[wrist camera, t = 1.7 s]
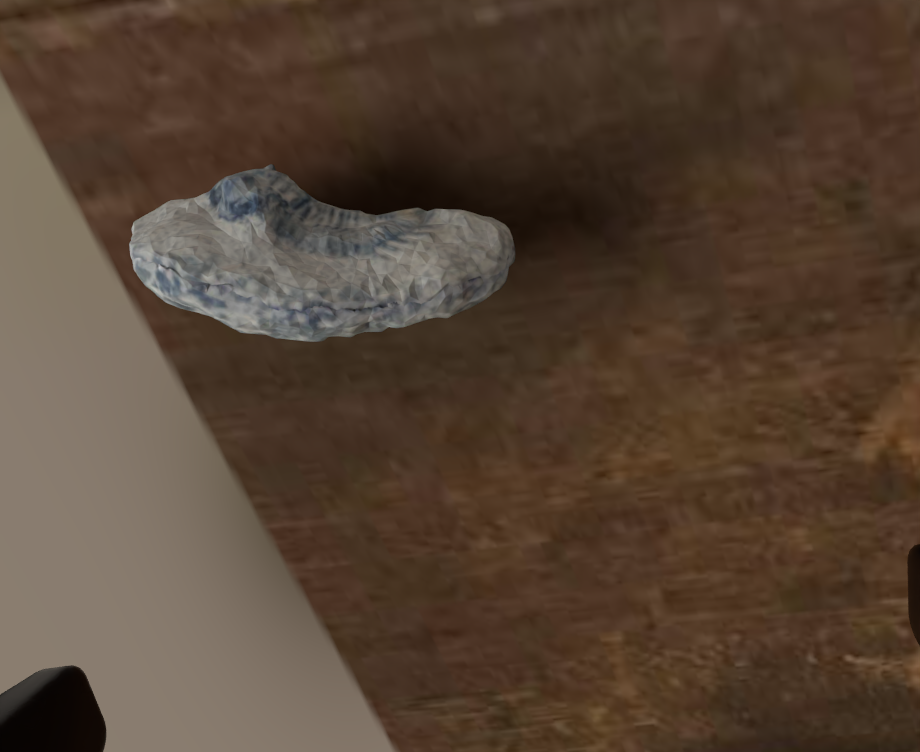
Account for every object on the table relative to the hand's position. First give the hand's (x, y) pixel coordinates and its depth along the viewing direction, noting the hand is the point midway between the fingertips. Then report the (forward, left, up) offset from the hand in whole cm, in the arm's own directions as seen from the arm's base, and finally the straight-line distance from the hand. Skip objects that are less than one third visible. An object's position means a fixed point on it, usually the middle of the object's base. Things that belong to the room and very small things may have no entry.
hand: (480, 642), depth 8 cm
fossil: (-3, +4, -12) cm, 13 cm away
